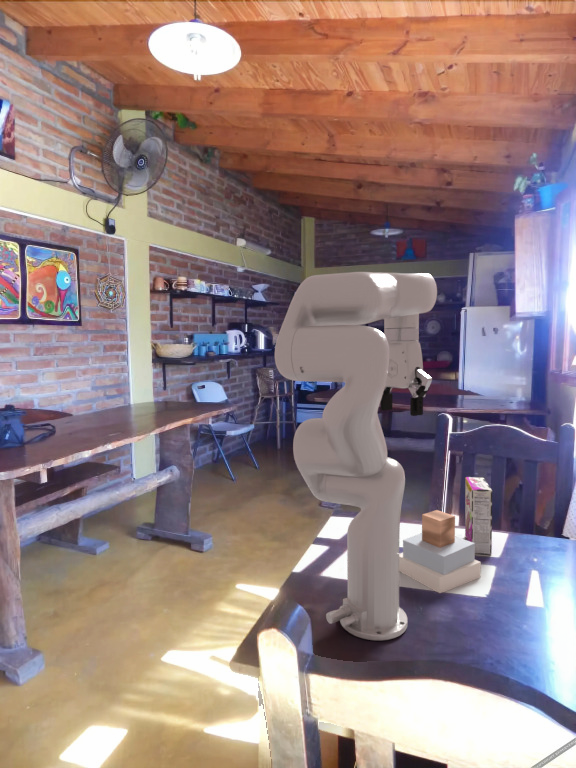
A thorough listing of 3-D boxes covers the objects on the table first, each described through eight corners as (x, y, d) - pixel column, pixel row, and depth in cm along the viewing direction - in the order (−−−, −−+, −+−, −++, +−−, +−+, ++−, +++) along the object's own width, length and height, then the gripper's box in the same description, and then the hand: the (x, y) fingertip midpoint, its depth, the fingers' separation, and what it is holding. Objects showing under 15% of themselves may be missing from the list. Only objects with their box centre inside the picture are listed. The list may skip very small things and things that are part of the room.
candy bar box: (463, 536, 131) (464, 476, 130) (483, 537, 130) (484, 477, 129) (470, 554, 120) (471, 488, 119) (492, 555, 119) (493, 489, 118)
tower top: (443, 575, 102) (444, 556, 102) (403, 557, 111) (403, 540, 111) (474, 560, 109) (474, 543, 108) (433, 544, 118) (433, 528, 117)
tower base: (439, 595, 102) (439, 577, 101) (395, 571, 113) (395, 554, 112) (480, 579, 108) (480, 562, 108) (435, 557, 119) (435, 541, 119)
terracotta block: (439, 547, 106) (440, 521, 106) (421, 540, 110) (422, 514, 110) (454, 542, 109) (455, 516, 108) (436, 535, 113) (437, 509, 113)
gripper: (363, 337, 115) (363, 409, 116) (417, 336, 100) (416, 419, 101) (387, 337, 119) (387, 407, 120) (443, 336, 104) (442, 415, 105)
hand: (401, 412), depth 111 cm, fingers open, 9 cm apart
